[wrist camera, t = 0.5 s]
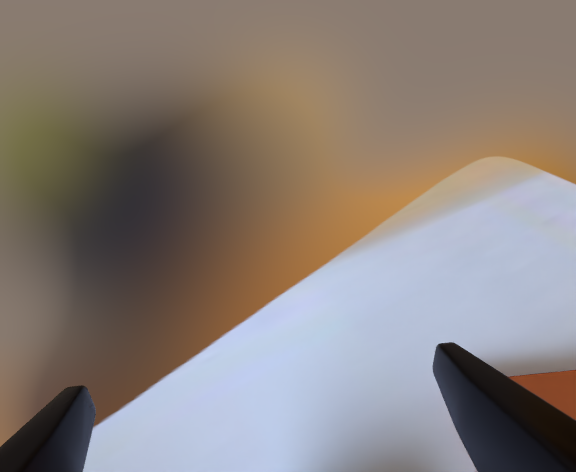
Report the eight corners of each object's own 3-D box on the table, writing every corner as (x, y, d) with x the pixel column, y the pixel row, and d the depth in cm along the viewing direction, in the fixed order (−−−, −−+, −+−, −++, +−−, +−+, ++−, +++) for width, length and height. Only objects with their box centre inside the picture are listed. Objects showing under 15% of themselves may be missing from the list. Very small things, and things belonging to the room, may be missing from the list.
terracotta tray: (711, 465, 19) (726, 459, 19) (486, 484, 20) (491, 480, 19) (635, 368, 23) (645, 360, 23) (449, 386, 24) (452, 379, 23)
